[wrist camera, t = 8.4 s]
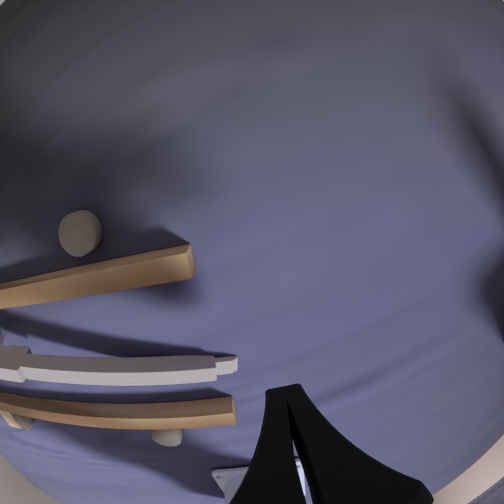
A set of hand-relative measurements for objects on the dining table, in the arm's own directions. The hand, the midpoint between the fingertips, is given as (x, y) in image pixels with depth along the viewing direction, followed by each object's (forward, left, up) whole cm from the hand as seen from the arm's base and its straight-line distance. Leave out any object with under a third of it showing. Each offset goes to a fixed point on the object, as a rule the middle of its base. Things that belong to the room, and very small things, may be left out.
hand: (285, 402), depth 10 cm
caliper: (0, +12, -6) cm, 13 cm away
